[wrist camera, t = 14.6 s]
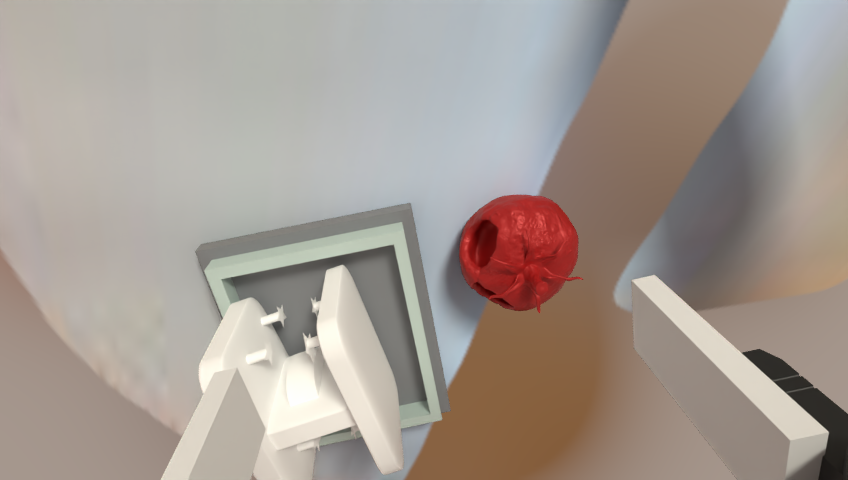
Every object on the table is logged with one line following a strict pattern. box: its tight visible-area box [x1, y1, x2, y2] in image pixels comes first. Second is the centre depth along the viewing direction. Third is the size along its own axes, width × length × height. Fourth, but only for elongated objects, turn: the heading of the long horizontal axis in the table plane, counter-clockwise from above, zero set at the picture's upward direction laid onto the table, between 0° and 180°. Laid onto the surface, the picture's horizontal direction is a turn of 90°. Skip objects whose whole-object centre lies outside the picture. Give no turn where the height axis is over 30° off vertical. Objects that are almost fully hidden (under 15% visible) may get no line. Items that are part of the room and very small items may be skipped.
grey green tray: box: [195, 203, 451, 447], centre depth 44 cm, size 18×22×4 cm
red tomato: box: [459, 195, 583, 313], centre depth 39 cm, size 10×10×9 cm
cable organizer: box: [199, 265, 404, 480], centre depth 38 cm, size 15×11×12 cm
